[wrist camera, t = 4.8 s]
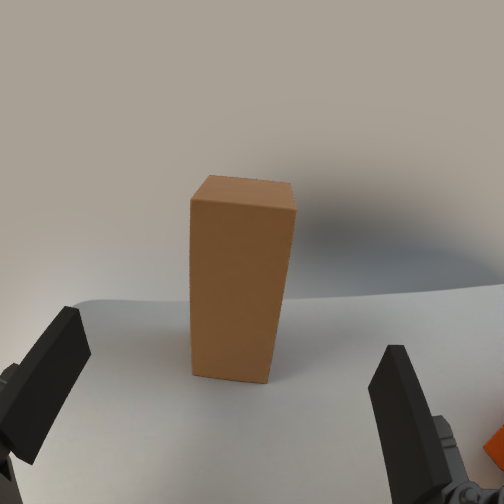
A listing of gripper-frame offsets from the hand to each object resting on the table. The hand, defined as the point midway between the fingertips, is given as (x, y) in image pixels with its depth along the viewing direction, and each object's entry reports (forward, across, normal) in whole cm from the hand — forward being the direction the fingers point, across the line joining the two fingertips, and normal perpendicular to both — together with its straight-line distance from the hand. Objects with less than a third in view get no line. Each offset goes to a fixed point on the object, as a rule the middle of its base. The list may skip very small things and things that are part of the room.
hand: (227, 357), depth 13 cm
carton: (+7, 0, -7) cm, 10 cm away
